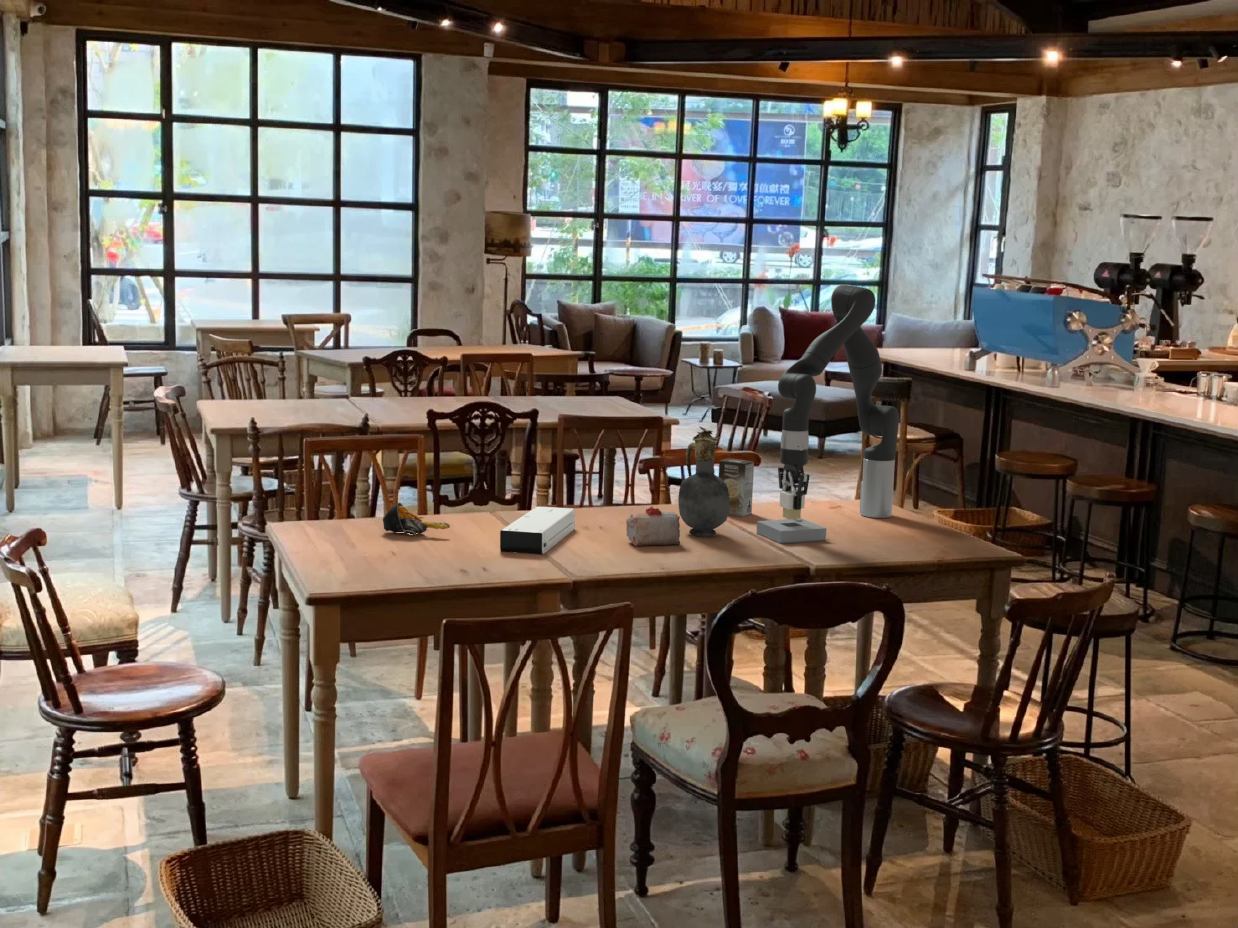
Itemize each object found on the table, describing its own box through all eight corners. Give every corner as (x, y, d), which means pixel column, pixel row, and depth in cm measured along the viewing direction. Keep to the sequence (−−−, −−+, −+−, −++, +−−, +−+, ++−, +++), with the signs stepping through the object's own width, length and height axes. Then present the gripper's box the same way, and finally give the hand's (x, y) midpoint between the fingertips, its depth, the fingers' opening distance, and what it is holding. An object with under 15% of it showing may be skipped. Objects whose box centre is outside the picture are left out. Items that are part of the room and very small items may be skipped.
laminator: (536, 527, 375) (536, 506, 374) (578, 530, 372) (578, 508, 371) (500, 553, 342) (500, 530, 341) (546, 556, 339) (546, 533, 338)
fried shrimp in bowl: (386, 511, 367) (447, 493, 366) (394, 549, 365) (456, 531, 363) (374, 505, 359) (437, 486, 357) (383, 544, 356) (446, 525, 354)
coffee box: (715, 513, 399) (717, 460, 396) (725, 509, 404) (727, 457, 401) (743, 516, 394) (745, 463, 391) (753, 513, 399) (754, 460, 396)
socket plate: (756, 533, 371) (757, 519, 370) (800, 530, 376) (801, 516, 375) (780, 543, 358) (780, 529, 357) (825, 540, 363) (826, 526, 362)
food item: (632, 548, 350) (632, 511, 348) (624, 541, 357) (625, 505, 356) (681, 546, 353) (682, 509, 352) (673, 539, 361) (674, 504, 359)
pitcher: (697, 541, 359) (700, 431, 354) (668, 527, 376) (670, 422, 372) (733, 538, 363) (736, 430, 358) (702, 525, 380) (706, 421, 376)
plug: (779, 516, 367) (780, 491, 366) (795, 515, 369) (796, 490, 368) (787, 520, 363) (788, 494, 361) (804, 519, 364) (805, 493, 363)
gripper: (770, 443, 368) (767, 503, 371) (795, 450, 355) (792, 513, 357) (793, 442, 371) (791, 502, 373) (819, 449, 357) (817, 511, 360)
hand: (792, 507), depth 365 cm, fingers closed on plug, 5 cm apart
